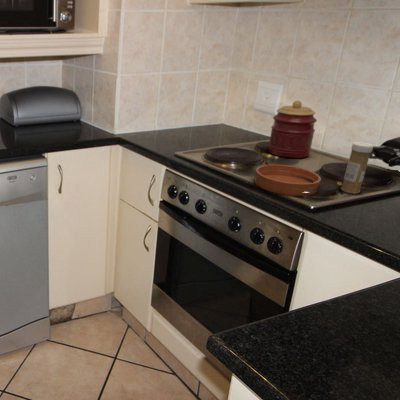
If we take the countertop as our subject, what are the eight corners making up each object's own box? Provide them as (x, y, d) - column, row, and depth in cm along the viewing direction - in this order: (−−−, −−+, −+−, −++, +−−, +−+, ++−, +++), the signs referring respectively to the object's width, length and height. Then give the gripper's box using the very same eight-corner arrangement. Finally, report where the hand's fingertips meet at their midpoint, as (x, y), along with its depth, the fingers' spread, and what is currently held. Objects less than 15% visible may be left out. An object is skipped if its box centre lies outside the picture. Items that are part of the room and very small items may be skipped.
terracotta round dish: (329, 188, 131) (332, 177, 130) (296, 201, 123) (299, 188, 122) (275, 172, 144) (277, 161, 143) (242, 182, 136) (244, 170, 134)
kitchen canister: (318, 154, 160) (328, 101, 154) (295, 160, 154) (305, 105, 147) (281, 146, 170) (290, 96, 164) (259, 151, 164) (267, 100, 158)
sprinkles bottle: (363, 194, 128) (377, 145, 123) (347, 194, 128) (360, 146, 123) (352, 188, 132) (365, 141, 127) (336, 188, 132) (349, 141, 127)
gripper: (376, 132, 144) (349, 139, 136) (432, 143, 133) (407, 152, 125) (369, 156, 147) (343, 164, 138) (424, 168, 136) (398, 179, 127)
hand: (373, 158), depth 132 cm, fingers open, 8 cm apart
